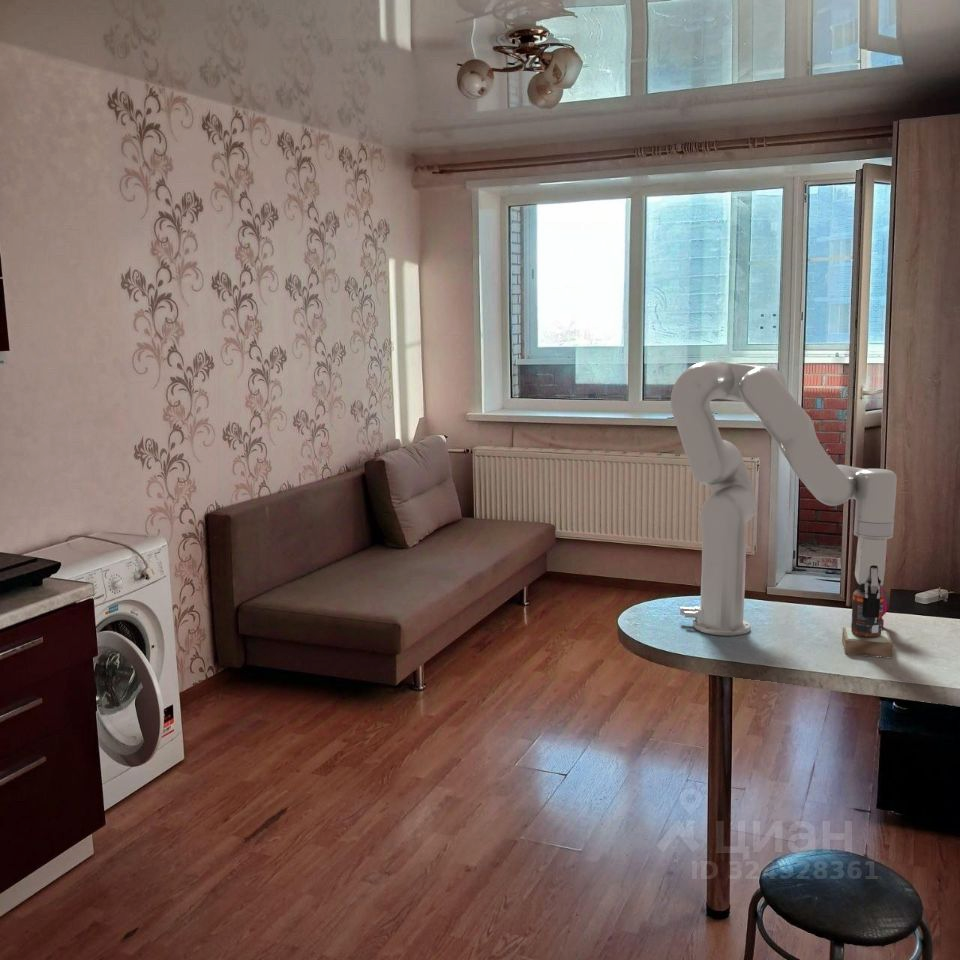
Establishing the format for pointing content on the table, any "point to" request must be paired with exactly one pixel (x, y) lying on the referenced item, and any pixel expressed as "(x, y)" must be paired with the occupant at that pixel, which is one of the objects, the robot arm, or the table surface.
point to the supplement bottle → (865, 624)
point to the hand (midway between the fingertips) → (868, 610)
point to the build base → (867, 644)
